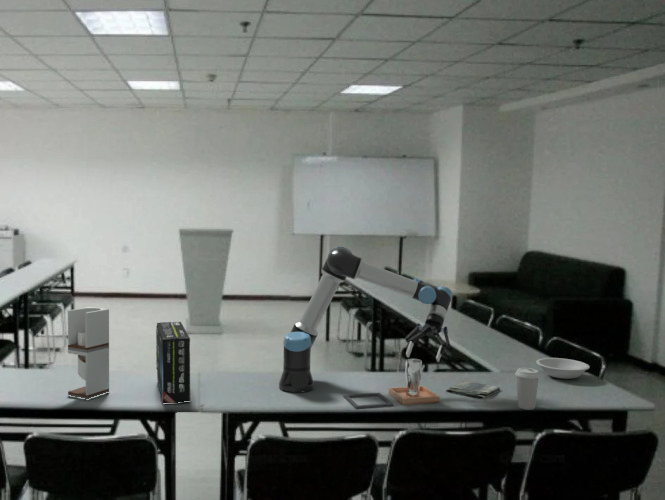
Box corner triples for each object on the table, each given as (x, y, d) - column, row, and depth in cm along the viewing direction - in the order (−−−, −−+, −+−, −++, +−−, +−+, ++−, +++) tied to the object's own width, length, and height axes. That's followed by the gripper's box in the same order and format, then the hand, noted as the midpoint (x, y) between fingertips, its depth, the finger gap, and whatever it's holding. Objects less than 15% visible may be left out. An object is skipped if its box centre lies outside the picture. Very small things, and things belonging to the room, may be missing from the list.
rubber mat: (355, 408, 246) (355, 406, 246) (343, 396, 262) (343, 394, 262) (393, 405, 251) (393, 403, 251) (379, 394, 266) (379, 392, 266)
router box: (155, 381, 278) (155, 321, 277) (181, 380, 282) (181, 320, 280) (162, 406, 245) (162, 338, 243) (191, 403, 249) (191, 336, 247)
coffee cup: (540, 411, 248) (541, 374, 247) (514, 409, 249) (516, 372, 249) (537, 404, 257) (538, 368, 256) (513, 402, 259) (514, 366, 258)
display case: (90, 389, 265) (90, 306, 262) (109, 393, 260) (109, 309, 258) (68, 396, 254) (67, 310, 252) (87, 400, 250) (87, 313, 247)
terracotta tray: (402, 405, 252) (403, 399, 252) (388, 393, 267) (388, 388, 267) (439, 402, 257) (439, 396, 256) (422, 391, 272) (423, 385, 272)
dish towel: (462, 384, 287) (463, 377, 287) (500, 391, 277) (500, 384, 276) (444, 393, 272) (445, 386, 272) (484, 401, 262) (484, 393, 261)
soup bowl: (597, 384, 289) (598, 370, 289) (544, 383, 289) (545, 369, 289) (577, 371, 313) (578, 358, 312) (529, 370, 313) (529, 357, 313)
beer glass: (423, 395, 264) (424, 359, 263) (418, 399, 257) (419, 363, 256) (407, 392, 267) (408, 357, 266) (402, 397, 260) (403, 361, 259)
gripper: (465, 325, 275) (452, 366, 263) (411, 319, 287) (397, 358, 275) (461, 315, 270) (448, 356, 258) (407, 309, 282) (392, 348, 270)
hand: (422, 357), depth 266 cm, fingers open, 13 cm apart
